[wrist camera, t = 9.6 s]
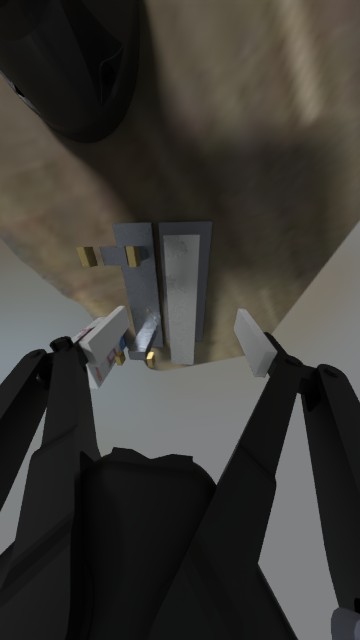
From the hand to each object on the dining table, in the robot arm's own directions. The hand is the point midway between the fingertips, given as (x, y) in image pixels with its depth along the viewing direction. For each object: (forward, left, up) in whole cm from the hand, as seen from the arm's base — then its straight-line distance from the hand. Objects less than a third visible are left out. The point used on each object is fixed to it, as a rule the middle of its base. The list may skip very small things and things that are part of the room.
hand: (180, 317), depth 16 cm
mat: (+1, 0, -11) cm, 11 cm away
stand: (+2, -8, -11) cm, 14 cm away
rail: (+2, 0, -10) cm, 10 cm away
